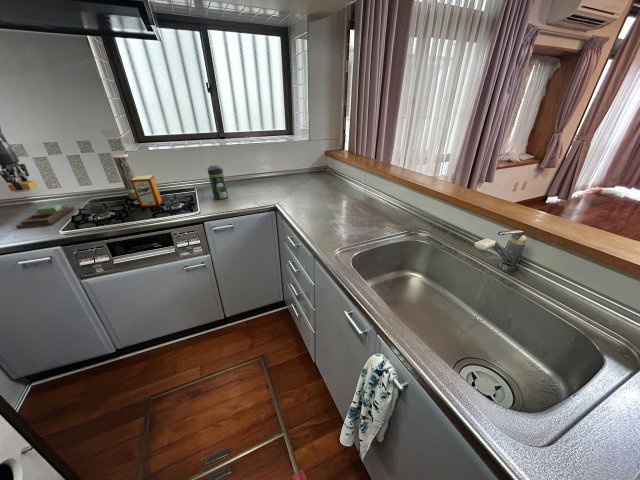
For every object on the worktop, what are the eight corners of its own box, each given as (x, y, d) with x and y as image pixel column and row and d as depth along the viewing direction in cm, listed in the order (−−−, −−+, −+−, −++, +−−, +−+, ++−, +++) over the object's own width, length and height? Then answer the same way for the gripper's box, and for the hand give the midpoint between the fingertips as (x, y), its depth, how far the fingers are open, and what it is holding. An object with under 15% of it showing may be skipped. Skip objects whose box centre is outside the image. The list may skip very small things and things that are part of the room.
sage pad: (39, 214, 138) (36, 209, 136) (45, 210, 142) (42, 205, 140) (57, 213, 139) (54, 207, 138) (63, 209, 143) (60, 204, 142)
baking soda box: (162, 201, 155) (153, 174, 147) (159, 205, 150) (149, 178, 142) (144, 203, 153) (134, 175, 145) (140, 207, 148) (129, 179, 140)
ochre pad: (11, 191, 128) (7, 185, 126) (18, 188, 132) (14, 182, 131) (30, 189, 130) (27, 183, 128) (37, 186, 134) (34, 180, 132)
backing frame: (17, 228, 128) (14, 223, 126) (44, 211, 144) (41, 207, 143) (51, 225, 130) (48, 220, 129) (74, 209, 147) (71, 204, 146)
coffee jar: (212, 195, 162) (205, 165, 153) (225, 193, 165) (219, 163, 156) (215, 201, 155) (208, 169, 145) (229, 198, 158) (223, 167, 149)
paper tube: (139, 194, 166) (124, 153, 153) (144, 197, 162) (128, 155, 149) (127, 197, 161) (110, 155, 149) (131, 200, 157) (115, 157, 145)
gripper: (4, 150, 127) (25, 184, 136) (-21, 156, 115) (4, 193, 124) (23, 148, 129) (42, 183, 137) (0, 155, 117) (23, 192, 125)
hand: (24, 188), depth 131 cm, fingers closed on ochre pad, 5 cm apart
